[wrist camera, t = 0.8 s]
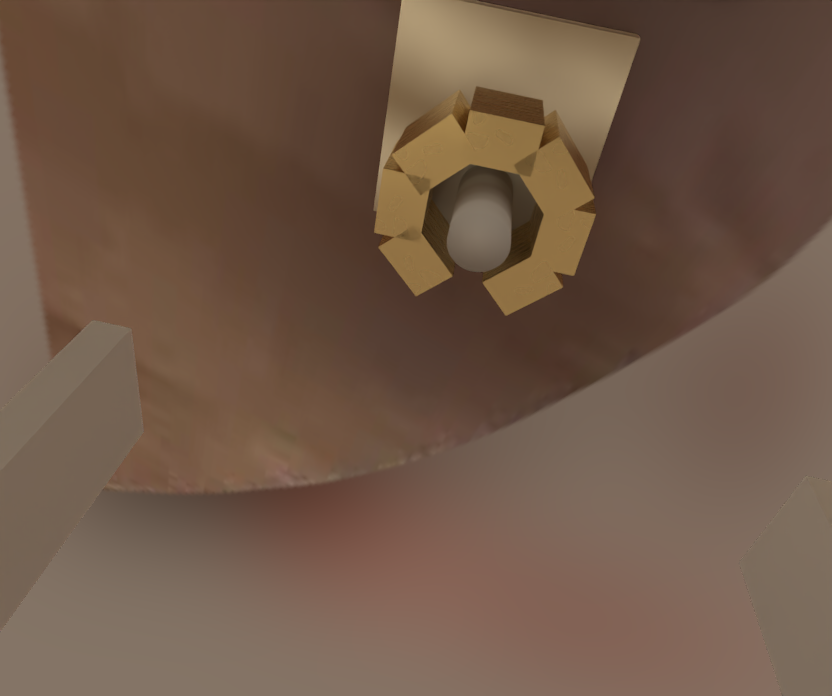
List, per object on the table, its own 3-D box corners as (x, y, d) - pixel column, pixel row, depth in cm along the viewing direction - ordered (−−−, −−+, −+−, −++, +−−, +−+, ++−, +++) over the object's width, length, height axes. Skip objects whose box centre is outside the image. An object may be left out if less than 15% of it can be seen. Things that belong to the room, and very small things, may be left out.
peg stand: (406, -14, 27) (337, 38, 17) (637, 34, 27) (704, 116, 17) (376, 202, 33) (311, 337, 23) (565, 243, 33) (584, 397, 23)
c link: (408, 71, 22) (393, 93, 19) (611, 114, 21) (622, 142, 19) (381, 248, 26) (366, 285, 23) (552, 285, 25) (555, 326, 23)
